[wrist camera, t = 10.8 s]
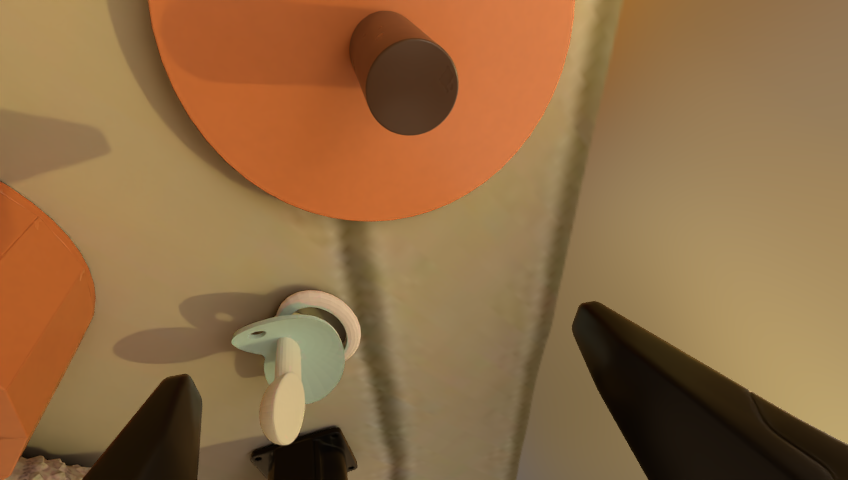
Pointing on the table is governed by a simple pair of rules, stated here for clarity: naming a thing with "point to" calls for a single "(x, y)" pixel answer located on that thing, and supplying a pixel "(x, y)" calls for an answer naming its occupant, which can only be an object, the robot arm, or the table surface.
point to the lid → (364, 93)
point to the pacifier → (298, 359)
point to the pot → (35, 317)
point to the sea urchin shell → (46, 470)
